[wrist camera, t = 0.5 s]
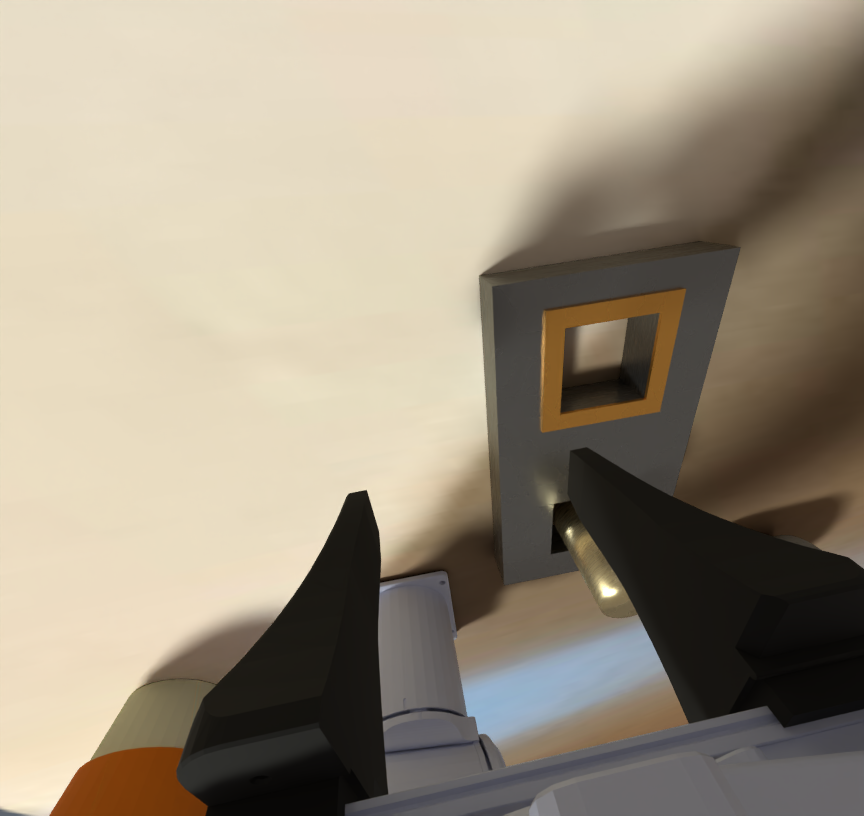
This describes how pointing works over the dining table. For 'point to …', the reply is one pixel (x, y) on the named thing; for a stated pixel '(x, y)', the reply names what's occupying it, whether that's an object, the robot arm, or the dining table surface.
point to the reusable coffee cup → (140, 757)
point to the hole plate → (594, 403)
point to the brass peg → (592, 563)
